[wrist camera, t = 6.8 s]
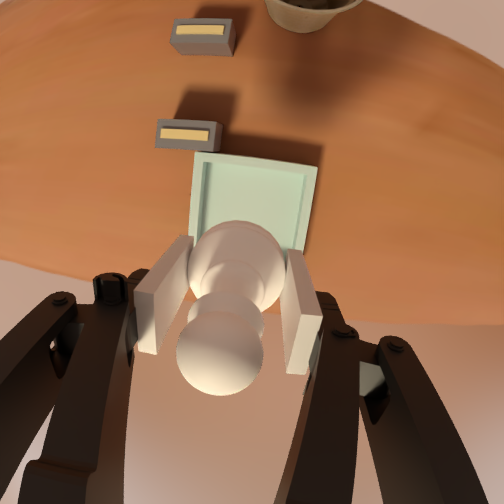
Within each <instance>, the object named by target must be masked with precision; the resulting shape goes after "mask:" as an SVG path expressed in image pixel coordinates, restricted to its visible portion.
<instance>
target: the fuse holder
mask: <svg viewBox="0 0 504 504" xmlns="http://www.w3.org/2000/svg"><path fill="white" fill-rule="evenodd" d="M235 39H236V32H235V28H234V24H233V21H232V19H218V18H190V19H174V24H173V28H172V33H171V38H170V44H171V45H172V46H173V47H174V48H175V49H176V50H177V51H178V52H179V53H180V54H181V55H212V56H232V57H233V51H234V45H235ZM222 130H223V125H222V124H220V123H218V122H213V121H199V120H180V119H158V122H157V132H156V141H155V148H170V149H185V150H198V151H210V152H215V151H220V147H221V138H222Z"/></svg>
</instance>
